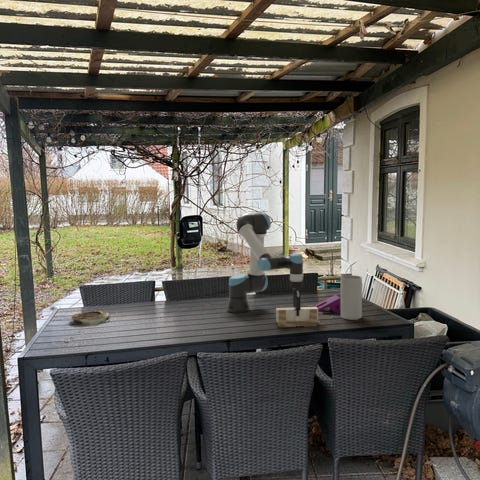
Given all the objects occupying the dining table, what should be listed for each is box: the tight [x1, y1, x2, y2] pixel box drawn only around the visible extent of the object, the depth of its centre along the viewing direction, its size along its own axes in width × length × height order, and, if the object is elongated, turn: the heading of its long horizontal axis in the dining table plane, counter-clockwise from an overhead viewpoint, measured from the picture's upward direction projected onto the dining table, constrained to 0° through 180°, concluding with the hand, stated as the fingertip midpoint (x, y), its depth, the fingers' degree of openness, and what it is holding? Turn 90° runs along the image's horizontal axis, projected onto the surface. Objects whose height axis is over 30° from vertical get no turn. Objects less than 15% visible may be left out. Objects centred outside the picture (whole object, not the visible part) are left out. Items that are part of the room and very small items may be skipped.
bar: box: [275, 306, 324, 322], centre depth 249 cm, size 4×27×7 cm, turn 91°
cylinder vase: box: [340, 274, 363, 321], centre depth 260 cm, size 12×12×25 cm
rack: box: [276, 304, 318, 328], centre depth 250 cm, size 10×22×10 cm, turn 91°
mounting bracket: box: [314, 294, 341, 314], centre depth 277 cm, size 10×8×18 cm
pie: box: [71, 310, 111, 328], centre depth 269 cm, size 28×27×5 cm
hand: (296, 319), depth 250 cm, fingers open, 5 cm apart
